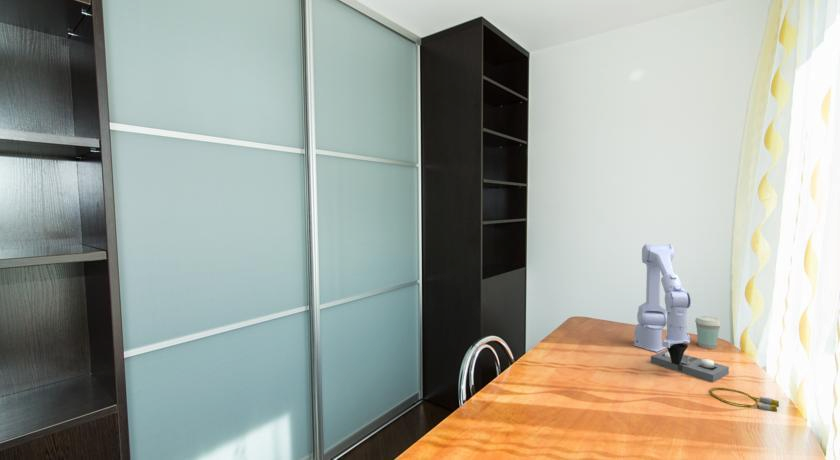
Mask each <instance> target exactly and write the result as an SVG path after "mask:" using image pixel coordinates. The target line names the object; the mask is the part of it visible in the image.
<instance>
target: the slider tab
mask: <svg viewBox="0 0 840 460" xmlns="http://www.w3.org/2000/svg"><path fill="white" fill-rule="evenodd" d="M689 356H690V355H688V354H686V353H684V354H683V356H682V360H681V363H683V364H689V363H690V362H689Z"/></svg>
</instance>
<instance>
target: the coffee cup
mask: <svg viewBox="0 0 840 460" xmlns="http://www.w3.org/2000/svg"><path fill="white" fill-rule="evenodd" d="M695 325H696V326H695V328H696V332H697V333H696V334H697V343H698V347H700V348H702V349H705V348H706V349H707V350H716V349H717V343H718V337H719V333H720V326H721V321H720V319H719V318H716V317H712V316H706V315H698V316H697V317H696V318H695Z"/></svg>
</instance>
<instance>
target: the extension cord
mask: <svg viewBox="0 0 840 460" xmlns="http://www.w3.org/2000/svg"><path fill="white" fill-rule="evenodd" d="M717 390H718V391H719V390H720V391H728V392H734V393H738V394H742V395H745V396H747V395H748V396H747V397H750V398H751V399H753V400H754V401H755V403H754V404H745V403H744V404H743V403H737V402H731V401H728V400H726V399H723V398H722V397H720V396H718V395H716V394H715V393H713V391H717ZM709 394H710V395H711V396H713V397H714V398H715V399H716V400H719V401H720V402H723V403H725V404H728V405H731V406H735V407H740V408H752V407H754V408H755V407H757V409H758V408H759V409H760V410H763V411H769V410H770V412H778V407H779V406H780V401H779V400H776V399H773V398H770V397H754V396H751V395H750V394H748V393H746V392H745V391H744V392H743V391H740V390H737V389H733V388H727V387H720V386H719V387H710V388H709ZM758 400H759V401H758ZM759 402H761V403H759ZM770 404H771V405H770ZM775 405H776V406H775Z"/></svg>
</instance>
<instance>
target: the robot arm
mask: <svg viewBox="0 0 840 460" xmlns="http://www.w3.org/2000/svg"><path fill="white" fill-rule="evenodd" d="M674 255H675V249H674V247H673V246H672V245H671V244H648V243H645V244H644V245H643V246H642V248H641V263H643V264H646V265H645V266H646V291H645V295H646V296H645V297H646V298H645V302H644V303H642V304H640V305H639V306H638V308H637V309H638V310H637V315H636V316H637V317H636V319H637V322H638V324H636V325H635V328H634V341H633V342H634V344H633V346H634V347H637V348H640V349H641V348H642V349H644V350H647V351H651V352H655V353H657V352H658V353H659V352H662V351H664V350H668V351H669V354H670V358H671V362H672V363H673V364H676V365H679V364H680V363H681V360H682V356H683V354H685V352H686V350H687V349H688V347H689V345H688V344H690V343H691V339H690V336H691V335H690V334H688V333H687V327H688V322H687V321H688V309H689V308H690V307H691V303H692V302H691V301H692V299H691V296H690V292H689V291H687V290H686V289H685V288H684V287H683V284H682V281H681V279H680V277H679V275H677V274H675V273H674V272H675V271H674V268H673V263H672V262H673V259H674V257H675V256H674ZM661 275H662V277H661ZM661 284H662V287H663V290H664V293H665V294H664V303H665V304H664V305H665V307H664V306H663V305H661V304H660V302H661V301H660V298H661ZM665 327H666V336H665V338H664V340H663V329H665Z"/></svg>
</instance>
